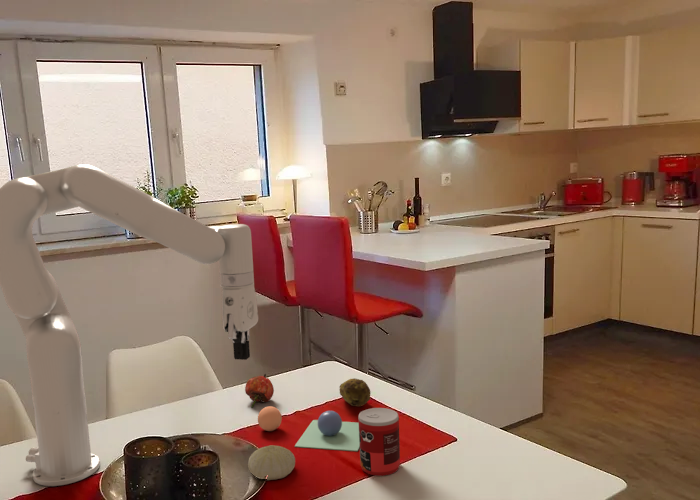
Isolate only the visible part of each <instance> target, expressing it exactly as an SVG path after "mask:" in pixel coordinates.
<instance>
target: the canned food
mask: <svg viewBox="0 0 700 500" xmlns="http://www.w3.org/2000/svg"><path fill="white" fill-rule="evenodd" d="M399 419H400V418H399V413H398V412H397V411H395V410H393V409H391V408H387V407H372V408H368V409H365V410H362V411H360V412H359V414H358V423H359V444H360V447H359V463H360V467H361V470H362V471H363V472H364V473H366V474H367V475H371V476H377V477H380V476H389V475H390V476H391V475H392V474H395V473H396V472H397V471H399V467H400V464H401V455H400V454H401V452H400V451H401V449H400V445H401V444H400V420H399Z"/></svg>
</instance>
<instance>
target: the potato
mask: <svg viewBox="0 0 700 500" xmlns="http://www.w3.org/2000/svg"><path fill="white" fill-rule="evenodd" d="M339 394H340V396H341V397H342V399H343V400H344V401H345V402H346V403H348V404H349V405H351V406H353V407H362V406H364V405H366V404H367V403H368V402H369V401H370V400H371V389H370V387H369V385H368V384H367V382H366V381H364V380H363V379H359V378H350V379H348V380H345V381H344V382H343V383H340V385H339Z"/></svg>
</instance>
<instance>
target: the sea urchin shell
mask: <svg viewBox="0 0 700 500" xmlns="http://www.w3.org/2000/svg"><path fill="white" fill-rule="evenodd" d="M247 462H248V464H247V467H248V468H247V469H248V470H249V472H250V474H251V473H252V474H253V475H255V476H257V477H263V476H267V475H268V477H267V480H266V481H271V480H272V481H273V480H275V481H276V480H278V479H283V478H285V477H287V476H288V475H289V474H291V473H292V471H293V470H294V468H295V466H296V457H295V455H294V453H293V452H292V451H291V450H290V449H288V448H286V447H284V446H281V445H273V444H272V445H271V444H270V445H266V446H262V447H259V448H258V449H256V450H254V451H253V452H252V453H251V454H250V456H249V458H248V461H247ZM252 474H251V475H252ZM253 475H252V476H253Z"/></svg>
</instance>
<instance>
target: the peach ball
mask: <svg viewBox="0 0 700 500" xmlns="http://www.w3.org/2000/svg"><path fill="white" fill-rule="evenodd" d="M282 420H283V418H282V414H281V411H280V410H279V409H278V408H277V407H275V406H272V405H270V406H265V407H264V408H261V410H260V411H259V413H258V415H257V423H258V426H259V427H260V428H261V429H262V430H264V431H267V432H273V431H275V430H277V429H278V428H279V427H280V425H281V424H282Z"/></svg>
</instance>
